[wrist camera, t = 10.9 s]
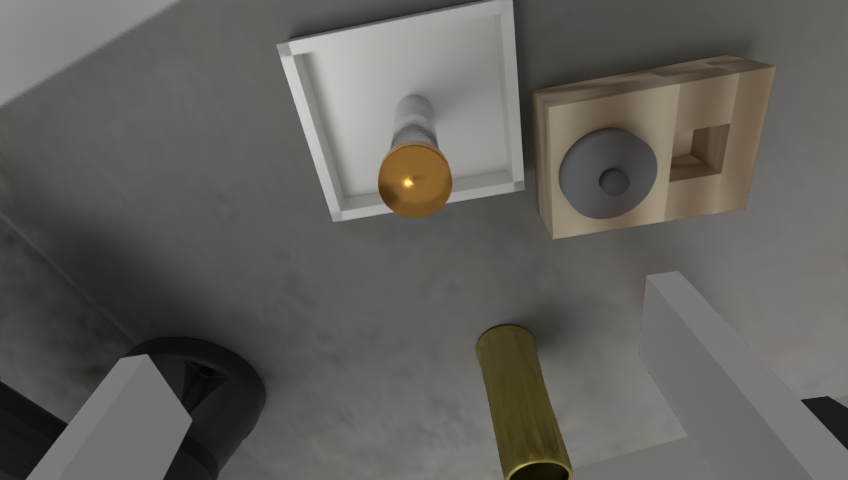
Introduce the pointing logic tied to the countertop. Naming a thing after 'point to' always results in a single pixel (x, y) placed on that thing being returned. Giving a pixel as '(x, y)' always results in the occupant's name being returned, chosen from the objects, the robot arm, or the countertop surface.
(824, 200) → the countertop surface
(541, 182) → the wooden socket block
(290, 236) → the countertop surface
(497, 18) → the tray
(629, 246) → the countertop surface
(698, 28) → the countertop surface
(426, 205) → the pin
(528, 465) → the vase
